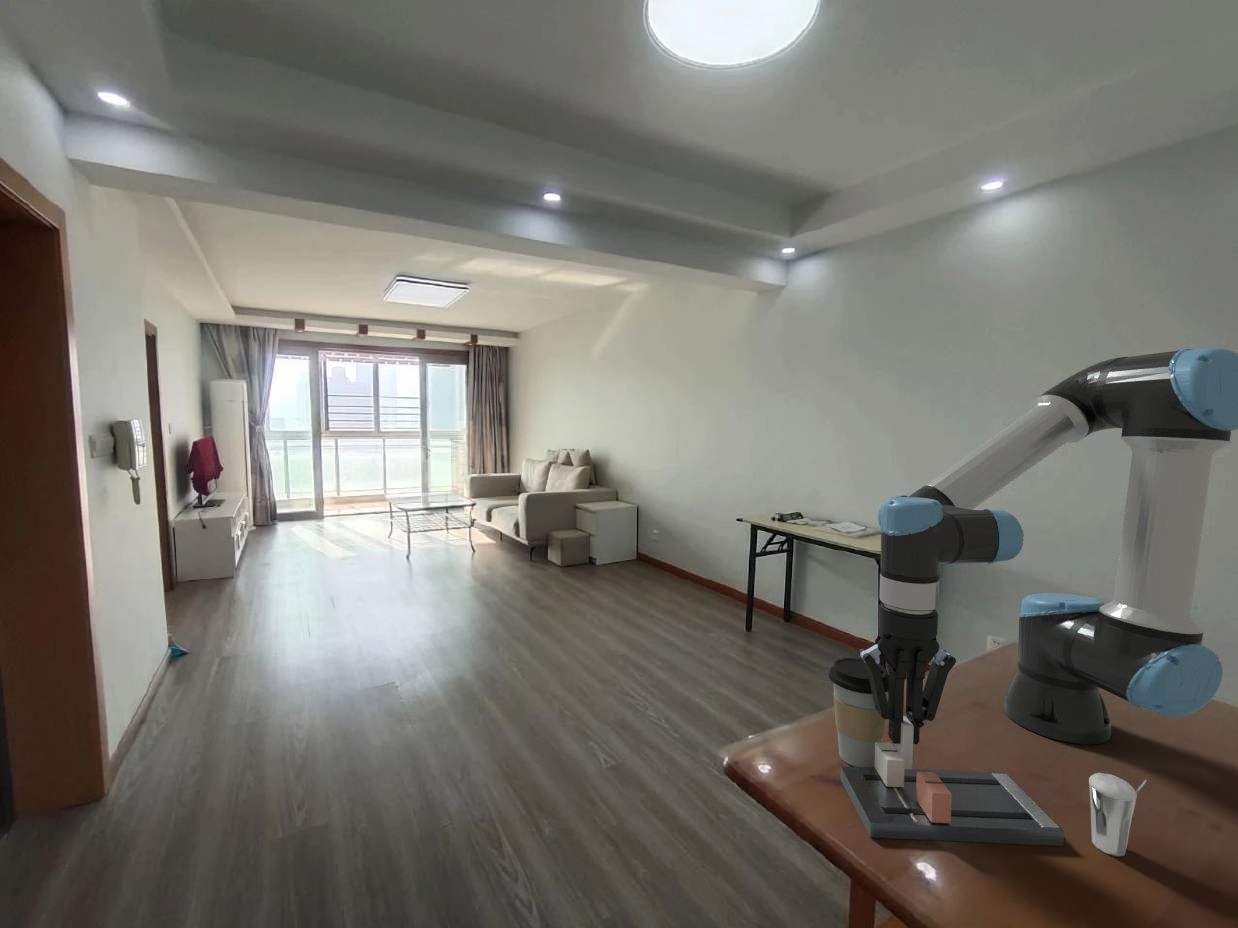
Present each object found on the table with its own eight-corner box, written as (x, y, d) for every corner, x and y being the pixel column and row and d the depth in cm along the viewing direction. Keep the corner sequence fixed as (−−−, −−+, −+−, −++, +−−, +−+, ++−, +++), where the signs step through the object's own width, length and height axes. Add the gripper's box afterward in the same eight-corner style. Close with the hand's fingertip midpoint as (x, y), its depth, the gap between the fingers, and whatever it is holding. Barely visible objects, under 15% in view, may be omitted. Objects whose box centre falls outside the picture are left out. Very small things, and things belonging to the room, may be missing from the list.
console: (1004, 785, 83) (1005, 771, 83) (1063, 845, 71) (1064, 830, 71) (840, 778, 85) (840, 765, 84) (870, 837, 73) (870, 821, 73)
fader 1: (890, 767, 84) (891, 742, 83) (903, 786, 79) (904, 759, 79) (874, 767, 84) (875, 741, 84) (886, 786, 79) (887, 759, 79)
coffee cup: (897, 779, 84) (900, 683, 83) (832, 771, 86) (834, 678, 85) (881, 743, 94) (884, 657, 93) (822, 737, 96) (824, 653, 94)
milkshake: (1146, 869, 67) (1151, 790, 67) (1088, 851, 70) (1093, 775, 69) (1136, 845, 71) (1141, 770, 70) (1082, 829, 74) (1086, 757, 73)
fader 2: (933, 800, 76) (934, 771, 76) (950, 823, 72) (951, 793, 72) (915, 799, 77) (916, 771, 76) (931, 822, 72) (932, 792, 72)
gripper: (941, 598, 83) (936, 749, 85) (852, 596, 84) (848, 746, 85) (970, 615, 75) (963, 781, 77) (871, 613, 76) (866, 777, 78)
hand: (902, 763), depth 81 cm, fingers closed
